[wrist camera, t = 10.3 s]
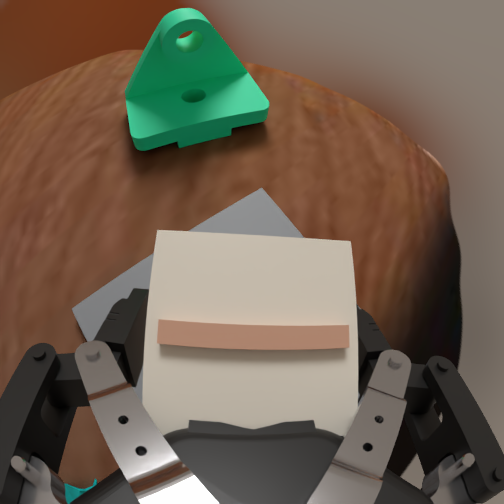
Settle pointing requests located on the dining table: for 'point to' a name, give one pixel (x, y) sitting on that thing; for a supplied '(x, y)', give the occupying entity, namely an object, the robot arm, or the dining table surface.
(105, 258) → the dining table surface
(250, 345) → the striped cream block
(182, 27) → the camera mount
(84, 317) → the base
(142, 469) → the robot arm
